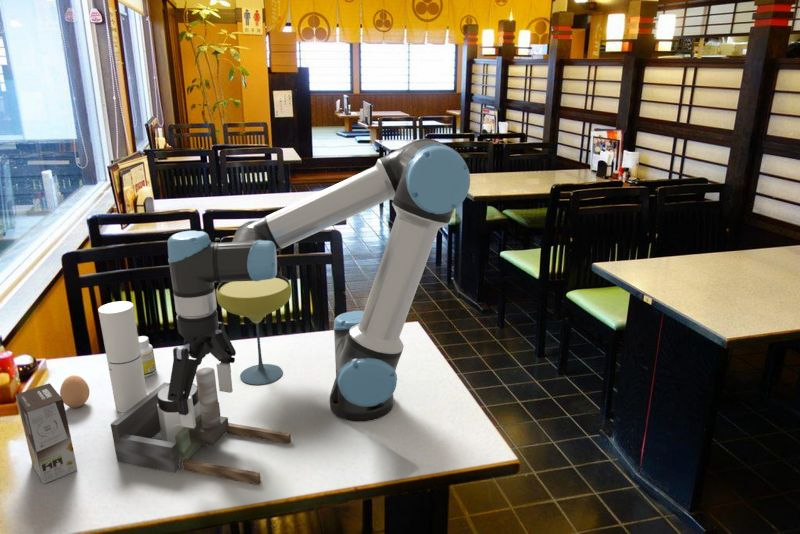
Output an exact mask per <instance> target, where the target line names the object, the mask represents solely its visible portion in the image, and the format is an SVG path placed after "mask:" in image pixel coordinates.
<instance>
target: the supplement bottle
mask: <svg viewBox="0 0 800 534" xmlns="http://www.w3.org/2000/svg"><path fill="white" fill-rule="evenodd" d="M138 339H139V345H140V351H141V358H142V364H143V371H144V378H147V377H151V376H153V375H154V374H155V373H156V372H157V366H156V360H155V359H156V358H155V353H154V348H153V345H152V344H150V340H149V337H148V336H146V335H141V336H140V335H138Z"/></svg>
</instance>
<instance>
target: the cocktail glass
mask: <svg viewBox="0 0 800 534" xmlns="http://www.w3.org/2000/svg"><path fill="white" fill-rule="evenodd" d="M215 295H216V302H217V304H218V305H219V307H220V308H222V309H223V310H225V311H226V312H228V313H230V314H233V315H236V316H240V317H245V318H248V319H249V320H250V321H251V322H252V323H254V324H255V327H256V330H255V331H256V340H257V341H256V342H257V354H258V357H257V358H258V364H255V365H252V366H250V367H247V368H245V369H244V370H243V371H241V373H240V375H239V377H240V378H239V379H240V380H241V381H242V382H243V383H244V384H247V385H252V386H262V385H268V384H271V383H274V382H275V381H277V380H279V379H280V378H281V377H282V375H283V370H282V368H281V367H280V366H278V365H276V364H271V363H263V358H262V349H261V348H262V347H261V339H260V326H259V323H261V322H262V321H263V319H264V318H265V317H266V316H267V315H269V314H272V313H274V312H277V311H278V310H280V309H281V308H283V307H284V306H285V305H286V304H287V303H288V302H289V300H291V296H292V286H291V282H290V280H289V279H288V278H286V277H285V276H283V275H280V274H276V276H275V277H274V278H273V279H268V280H260V281H235V282H219V284H218V285H217V288H216V290H215Z"/></svg>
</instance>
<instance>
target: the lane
mask: <svg viewBox="0 0 800 534" xmlns="http://www.w3.org/2000/svg"><path fill="white" fill-rule="evenodd" d="M168 385H170V382H163V383H162V384H160V385H159V386H158V387H156V388H155V389H154V390H152V391H151V392H150V393H148V394H147V396H146V397H145V398H143V399H142V400H141V401H140V402H138V403H137V404H136V405H134V406H133V407H132V408H130V409H129V410H128V411H127V412H123V414H121V415H120V416H119V417H117V418H116V419H115V420H113V422H111V423H110V429H111V434H112V440H113V445H114V451H115V456H116V462H117V463H118V464H119V463H120V464H124V465H129V466H136V467H140V468H146V469H150V470H157V471H161V472H165V473H166V472H167V473H172V474H177V472H178V471H179V470H180V468H181V466H180V461H179V460H178V453H177V446H176V443H173V442H167V441H162V439H161V440H159V439H155V438H154V437H156V436H157V435H158V434H159V433H161V429H160V422H159V415H158V409H157V404H158V399H157V394H158V392H159V391H160V390H161V389H162V388H164V387H166V386H168ZM218 406H219V414H220V415H221V407H220V402H219V401H218ZM228 424H229V430H228V431H227V433H226V434H230V435H235V436H241V437H246V438H253V439H257V440H265V441H271V442H275V443H276V442H277V443H282V444H288V445H289V444H290V443H291V442H292V438H291V436H292V435H291V432H287V431H286V432H285V431H280V430H275V429H274V430H273V429H268V428H263V427H255V426H249V425H243V424H236V423H230V422H228ZM181 464H182V469H183V471H184V472H189V473H196V474H201V475H207V476H211V477H216V478H222V479H226V480H227V479H228V480H232V481H237V482H243V483H247V484H248V483H249V484H254V485H259V484H260V483H261V481H262V480H261V478H262V477H261V473H260V471H259V472H258V471H254V470H248V469H243V468H242V469H241V468H237V467H230V466H226V465H221V464H215V463H210V462H204V461H199V460H194V459H190V458H189V459H185V460H184V461H183V462H182V463H181Z"/></svg>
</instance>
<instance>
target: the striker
mask: <svg viewBox="0 0 800 534" xmlns="http://www.w3.org/2000/svg"><path fill="white" fill-rule="evenodd" d="M195 379H196V386H197V389H198V397H199V405H200V412H201V414H200V415H199V416H198V417H196V418H195V423H196V427H195V428H188V427H184V428H183V429H181V430H180V431H179V432H178V433H177V434H176V435H175V440H176V446H177V453H178V460H179V462H180V463H181V462H183V461H184V460H185V459H189V460H190V457H192V456H193V455H194V454H195V453H196V452H197V451H198V449H200V448H201V446H210V447H214V446H215V445H216V444H217V443H218V442H219V441H220V440H221V439H222V438H224V436H225V435H226V434H228V433H227V431H228V430H229V424H228V423H229V417H228V416H221V413H220V414H219V407H220V405H219V406H218V402H219V399H218V398H219V397H218V390H217V389H218V388H217V382H216V381H217V380H216V372H215V369H214V368H212V367H203V368H199V369H197V371H196V374H195Z"/></svg>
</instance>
